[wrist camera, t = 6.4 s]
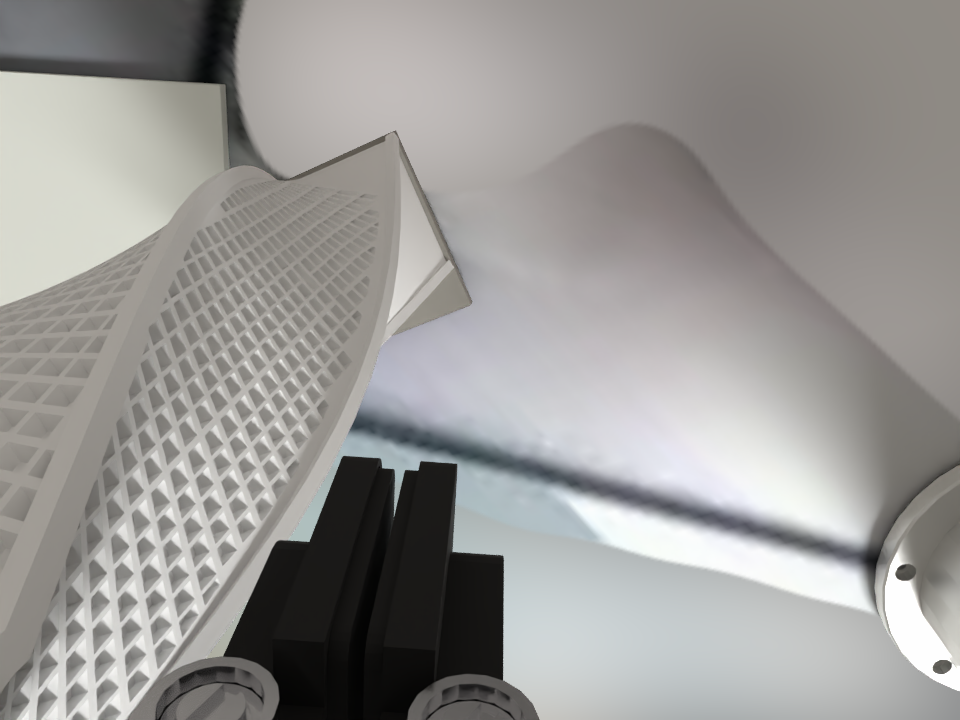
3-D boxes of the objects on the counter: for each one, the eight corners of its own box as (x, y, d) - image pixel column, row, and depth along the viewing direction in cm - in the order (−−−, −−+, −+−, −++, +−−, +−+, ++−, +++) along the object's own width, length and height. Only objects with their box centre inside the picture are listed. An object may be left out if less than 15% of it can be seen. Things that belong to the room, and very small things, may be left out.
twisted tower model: (216, 168, 32) (-1484, 699, 6) (406, 79, 30) (-856, 263, 4) (317, 362, 34) (-569, 1378, 8) (499, 291, 32) (116, 1328, 6)
